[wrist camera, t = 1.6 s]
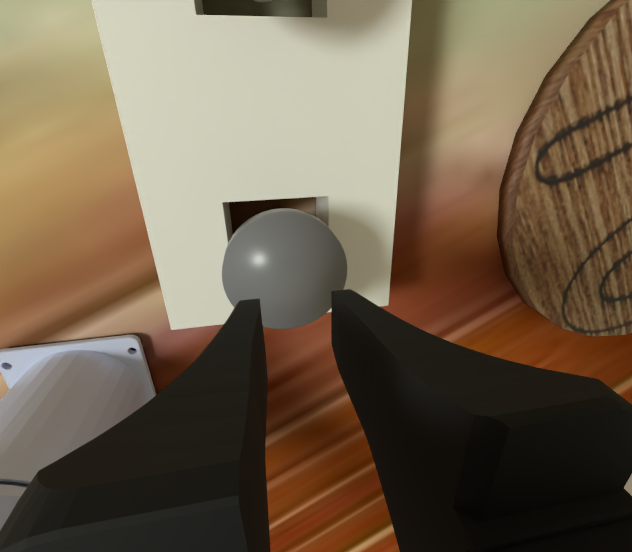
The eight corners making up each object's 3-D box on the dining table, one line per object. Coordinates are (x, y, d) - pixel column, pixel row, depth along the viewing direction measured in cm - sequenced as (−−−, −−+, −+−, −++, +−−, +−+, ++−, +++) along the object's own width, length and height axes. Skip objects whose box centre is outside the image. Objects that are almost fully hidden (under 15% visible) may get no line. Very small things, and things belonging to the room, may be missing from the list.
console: (369, 279, 23) (388, 305, 19) (183, 298, 21) (171, 329, 18) (389, -147, 14) (429, -223, 11) (80, -178, 12) (23, -280, 9)
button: (330, 288, 19) (346, 321, 15) (234, 297, 18) (230, 335, 15) (329, 193, 16) (348, 209, 13) (220, 199, 16) (212, 218, 12)
